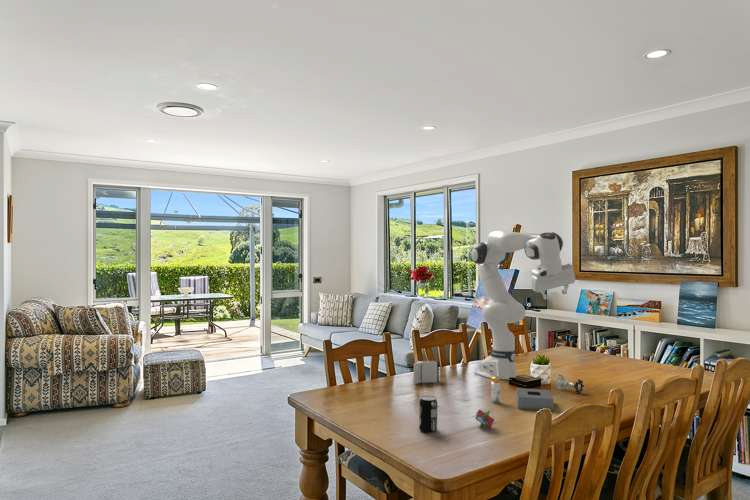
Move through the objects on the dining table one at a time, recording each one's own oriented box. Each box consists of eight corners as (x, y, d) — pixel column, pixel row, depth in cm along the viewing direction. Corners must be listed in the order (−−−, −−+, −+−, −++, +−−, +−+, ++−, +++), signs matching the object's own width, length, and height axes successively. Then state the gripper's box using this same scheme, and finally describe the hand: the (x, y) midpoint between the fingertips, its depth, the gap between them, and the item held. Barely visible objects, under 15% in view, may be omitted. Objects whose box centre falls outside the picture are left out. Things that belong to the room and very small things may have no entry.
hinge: (414, 384, 249) (414, 363, 249) (410, 381, 254) (410, 361, 254) (440, 382, 253) (440, 362, 253) (435, 379, 258) (435, 360, 258)
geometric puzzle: (502, 423, 187) (490, 403, 190) (493, 427, 182) (481, 407, 185) (488, 431, 191) (477, 411, 194) (478, 435, 185) (467, 415, 189)
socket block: (518, 408, 211) (518, 396, 211) (515, 399, 225) (516, 388, 225) (553, 411, 208) (553, 399, 208) (548, 401, 222) (549, 390, 222)
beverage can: (417, 427, 188) (418, 395, 188) (435, 427, 188) (435, 394, 188) (420, 433, 181) (421, 400, 181) (438, 433, 182) (439, 400, 182)
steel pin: (489, 402, 220) (489, 377, 220) (494, 400, 222) (494, 375, 222) (496, 404, 217) (496, 378, 217) (501, 402, 220) (501, 377, 220)
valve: (553, 389, 242) (576, 395, 232) (553, 375, 242) (576, 380, 232) (560, 387, 246) (583, 392, 236) (560, 373, 246) (584, 378, 236)
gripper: (568, 261, 234) (572, 288, 238) (528, 271, 232) (531, 299, 235) (576, 264, 228) (579, 292, 231) (534, 275, 226) (538, 303, 229)
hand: (555, 296), depth 233 cm, fingers open, 8 cm apart
